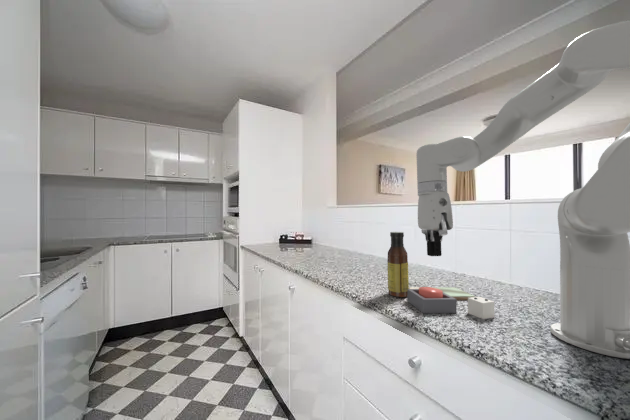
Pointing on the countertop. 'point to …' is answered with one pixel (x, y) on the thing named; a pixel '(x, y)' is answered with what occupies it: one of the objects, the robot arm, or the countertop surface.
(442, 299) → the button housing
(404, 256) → the sauce bottle
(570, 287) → the robot arm
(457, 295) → the board
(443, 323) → the countertop surface
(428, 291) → the dome button
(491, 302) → the die
